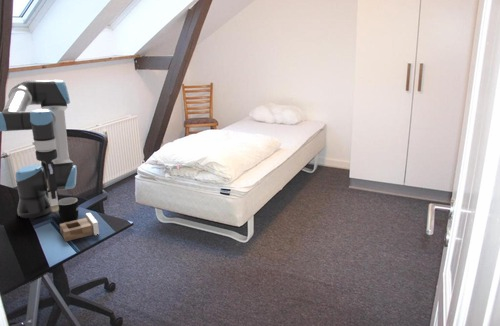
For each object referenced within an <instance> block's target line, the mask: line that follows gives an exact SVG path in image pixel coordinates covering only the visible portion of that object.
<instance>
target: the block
mask: <svg viewBox="0 0 500 326" xmlns="http://www.w3.org/2000/svg"><path fill="white" fill-rule="evenodd" d="M59 229H60V230H59V232H60V234H61V236H62V237H63V239H64V241H65V242H69V241H73V240H74V241H75V240H77V239H81V238H85V237H89V236H92V235H93V236H94V234H93V229H92V225H91V223H90V222H89V221H88V219H87V218H86V217H82V218H79V219H78V218H77V220H74V221H70V222H65V223H63V222H61V223H59Z"/></svg>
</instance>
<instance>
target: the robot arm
mask: <svg viewBox="0 0 500 326" xmlns="http://www.w3.org/2000/svg"><path fill="white" fill-rule="evenodd" d="M7 98H8V100H7V102H6V104H5V106H4V108H3V110H2V111H0V132H12V131H13V132H15V131H30V130H31V131H32V138H33V141H32V143H31V144H32V145H34V149H35V156H36V157H35V159H36V160H37V161H39V162H41V164H37V163H36V164H29V165H26V166H23V167H20V168H18V169H17V170H16V171H15V182H16V187H17V193H18V198H19V199H18V200H19V201H18V204H17V209H16V211H17V212H16V213H17V216H18V217H19V216H20V218H22V219H34V218H39V217H42V216H43V217H44V216H45V215H47V214H49V213H52V211H51V206H55V205H58V200H59V199H57V198H58V192H56V191H61V190H63V191H64V190H65V191H66V190H70V189H74V188H75V187H76V184H77V175H78V173H77V172H78V171H77V165H75V164H74V161H72V160H71V159H70V154H69V146H68V145H69V144H68V134H67V125H66V124H67V123H66V115H65V114H66V112H65V111H66V109H68V105H69V104H70V103H71V100H70V96H69V91H68V87H67V85H66V82H65V81H64V80H63V79H62V80H61V79H43V80H42V79H39V80H38V79H37V80H34V79H33V80H32V79H31V80H26V81H25V80H24V81H23V82H20V83H18V84H16V85H14V87H12V88H11V89H10V90H9V92H8V97H7ZM30 105H32V106H34V105H35V106H36V105H37V106H40V108H39V109H33V110H27V108H28V107H29V106H30ZM47 180H48V185H47ZM48 186H49V190H48ZM49 197H50V199H49ZM50 204H51V206H50Z"/></svg>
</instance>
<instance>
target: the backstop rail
mask: <svg viewBox="0 0 500 326" xmlns="http://www.w3.org/2000/svg"><path fill="white" fill-rule="evenodd" d="M85 218H87V219H88V221H89V222H90V223H91V225H92V229H93V236H94V235H95V236H98V235H100V231H99V222H98V220H97V219H96V218H95V216H93V214H92V213H91V212H86V213H85ZM97 234H98V235H97Z"/></svg>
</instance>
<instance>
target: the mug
mask: <svg viewBox="0 0 500 326" xmlns="http://www.w3.org/2000/svg"><path fill="white" fill-rule="evenodd" d="M58 205H59V211H57V212H58V216H59V218H60V220H61V223H65V222H70V221H74V220H78V218H79V200H78V198H77V197H74V196H73V197H72V196H70V197H64V198H60V199H58Z"/></svg>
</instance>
